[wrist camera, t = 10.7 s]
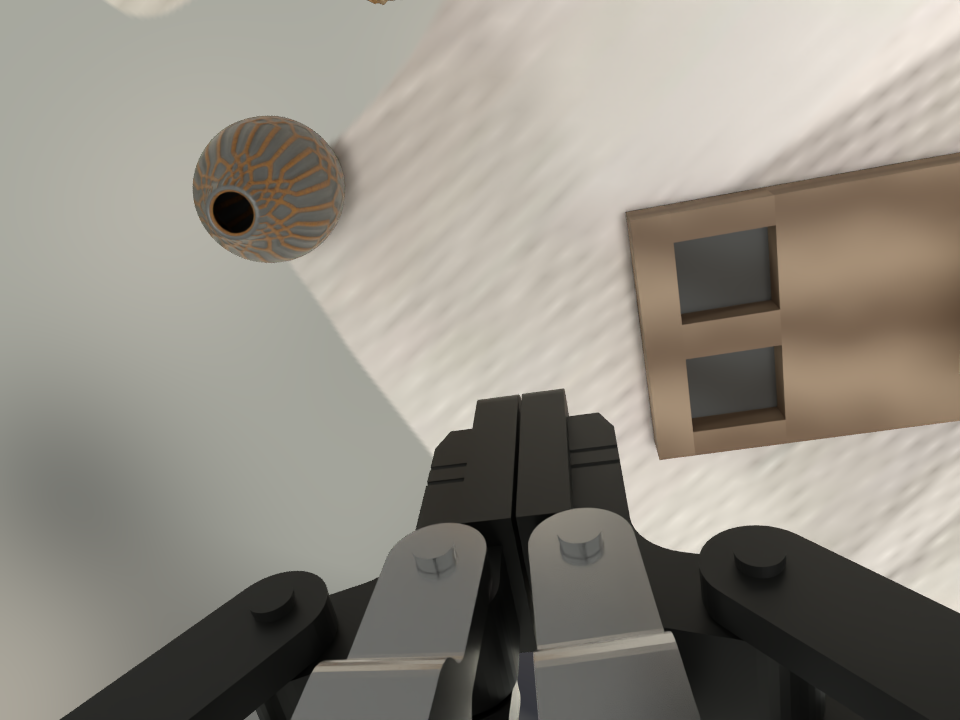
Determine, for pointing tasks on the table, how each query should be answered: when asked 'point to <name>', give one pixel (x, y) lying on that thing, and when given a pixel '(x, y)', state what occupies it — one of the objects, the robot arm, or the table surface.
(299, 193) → the vase
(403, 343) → the table surface
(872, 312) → the trap box
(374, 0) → the lion figurine
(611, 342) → the table surface
